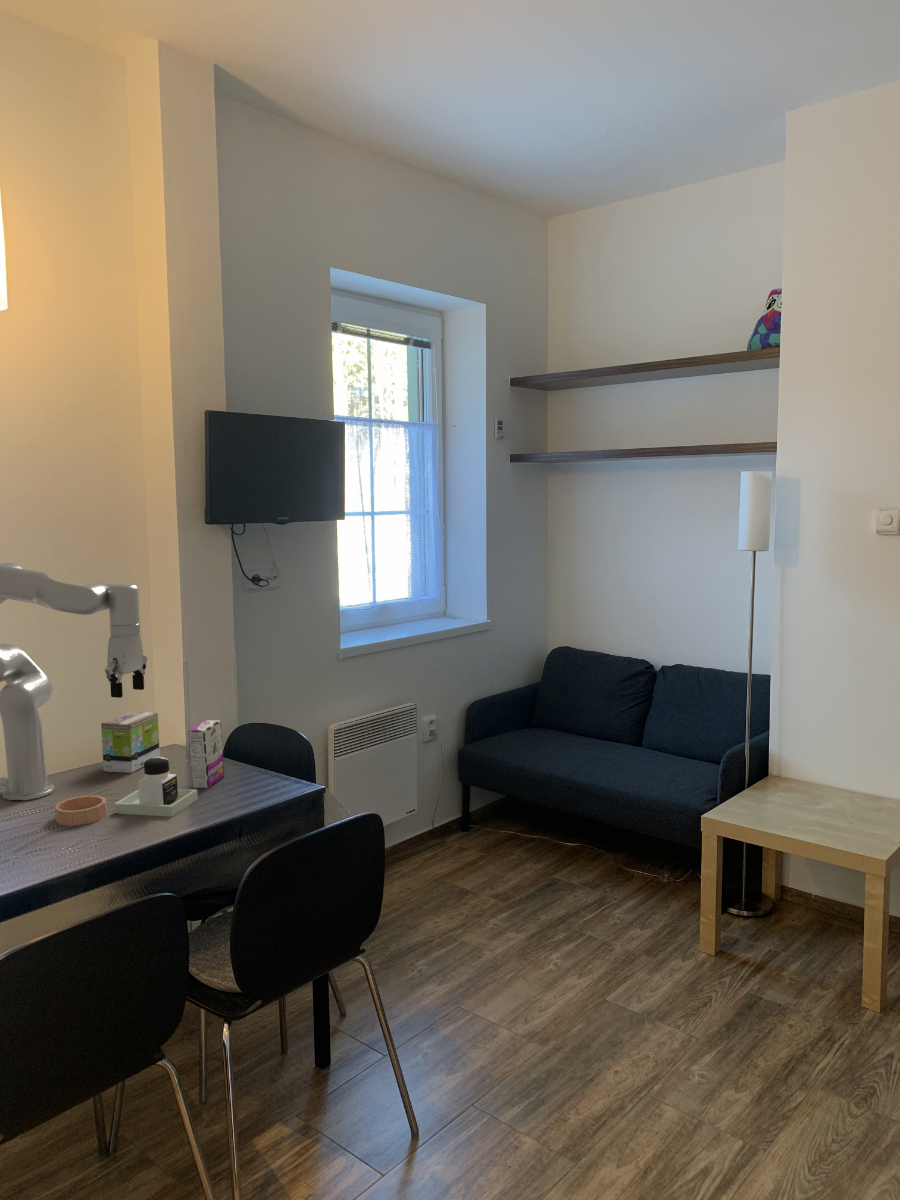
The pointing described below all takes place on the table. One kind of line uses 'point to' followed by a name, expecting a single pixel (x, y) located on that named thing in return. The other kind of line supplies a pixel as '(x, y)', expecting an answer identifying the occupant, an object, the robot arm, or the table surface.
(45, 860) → the table surface
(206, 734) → the candy bar box
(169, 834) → the table surface
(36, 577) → the robot arm
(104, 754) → the tea box
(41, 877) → the table surface
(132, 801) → the tray
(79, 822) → the faceted tan ring
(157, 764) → the medicine bottle
